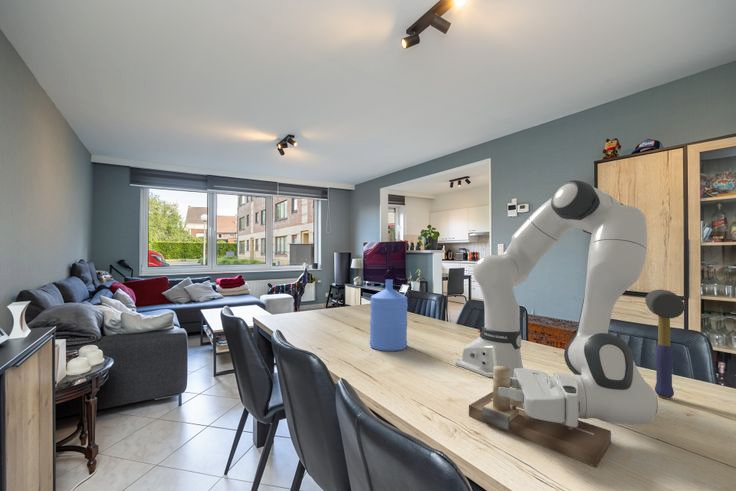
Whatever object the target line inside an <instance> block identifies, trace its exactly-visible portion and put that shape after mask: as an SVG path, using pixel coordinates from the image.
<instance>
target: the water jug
mask: <svg viewBox="0 0 736 491" xmlns="http://www.w3.org/2000/svg"><path fill="white" fill-rule="evenodd" d="M393 281H394V279H391V278H389V279H385V288H384V289H383V290H380V291H379V292H377V293H375V294H372V295H371V296H370V303H369V304H370V320H369V327H370V328H369V329H370V330H369V335H370V336H369V345H370V348H373V349H374V350H378V351H382V352H397V351H402V350H405V349H406V348H407V347H408V341H407V336H408V335H407V334H408V331H407V330H408V297H407V296H406V295H404V294H403V293H400V292H398V291H397V290H394V288H393V287H394V286H393V285H394V283H393Z"/></svg>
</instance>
